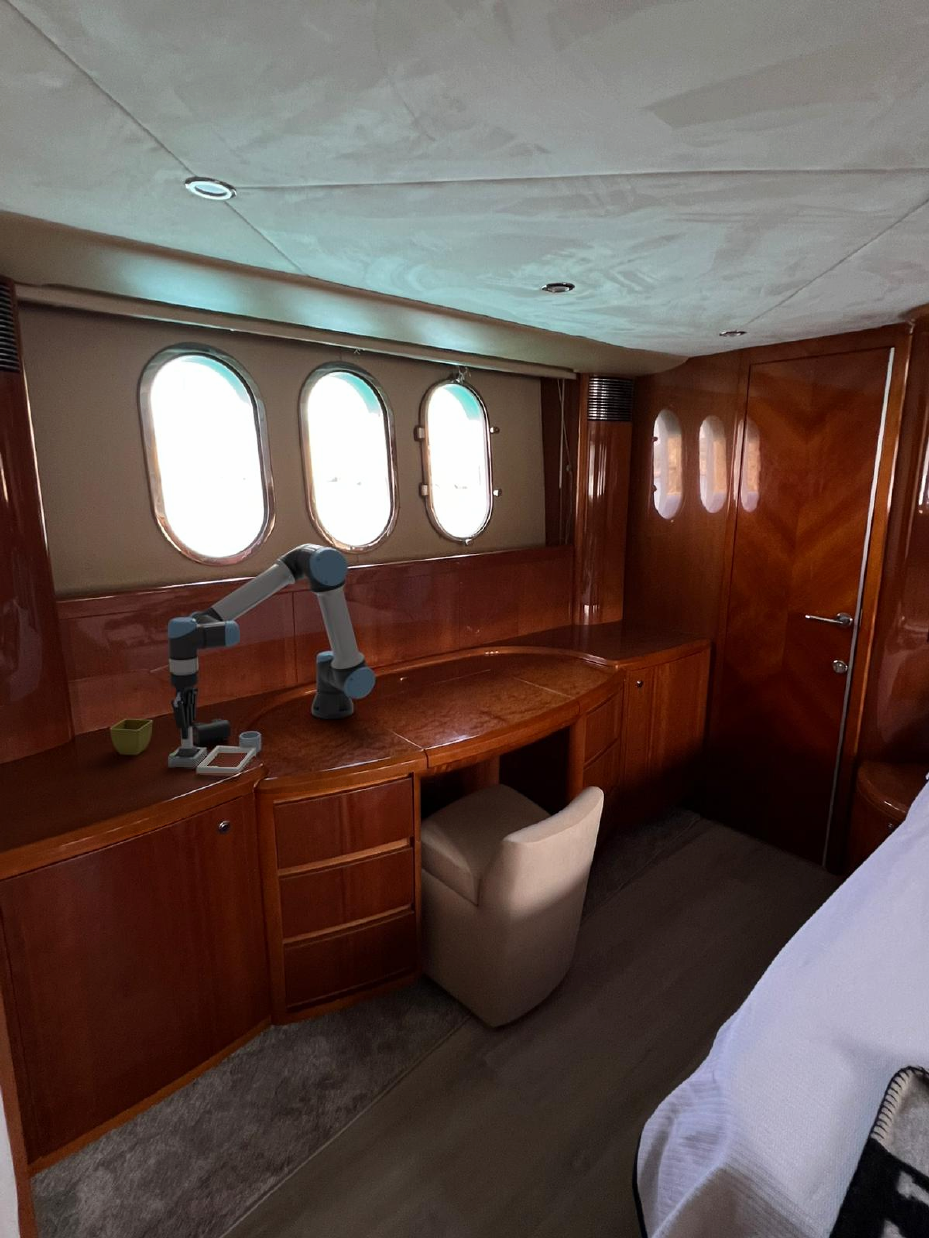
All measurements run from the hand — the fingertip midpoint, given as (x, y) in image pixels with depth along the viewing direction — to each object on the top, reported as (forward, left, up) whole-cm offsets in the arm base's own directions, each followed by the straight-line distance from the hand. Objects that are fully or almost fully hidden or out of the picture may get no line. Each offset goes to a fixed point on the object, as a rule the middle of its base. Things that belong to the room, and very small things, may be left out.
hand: (187, 747), depth 187 cm
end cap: (-1, -15, -5) cm, 16 cm away
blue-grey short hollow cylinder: (-15, -11, -5) cm, 19 cm away
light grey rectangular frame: (-12, 0, -5) cm, 13 cm away
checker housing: (0, 0, -5) cm, 5 cm away
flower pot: (+19, -5, -5) cm, 20 cm away
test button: (0, 0, -3) cm, 3 cm away
